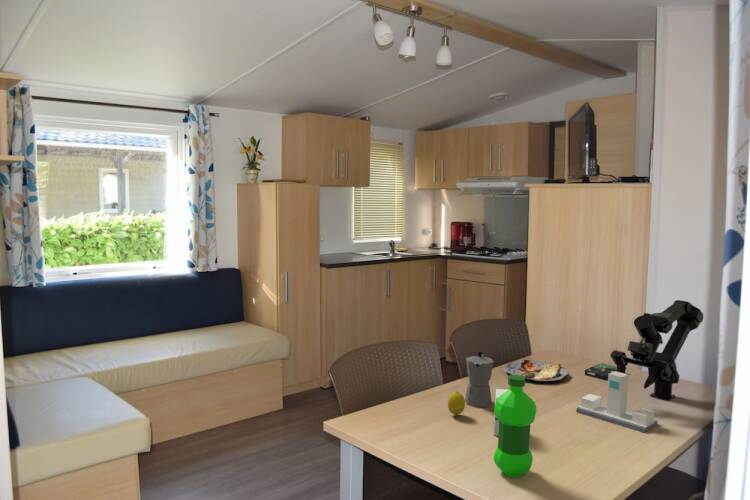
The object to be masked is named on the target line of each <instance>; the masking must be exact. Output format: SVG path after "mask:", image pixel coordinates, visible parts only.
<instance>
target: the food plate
mask: <svg viewBox="0 0 750 500" xmlns="http://www.w3.org/2000/svg"><path fill="white" fill-rule="evenodd" d="M503 370H504V372H505V373H507V374H510V375H520V376H523V377H525V380H530V381H535V382H540V383H541V382H542V383H547V382H550V381H559V380H562V379H563V378H565V377H566V376H567V375H568V374H569V371H568V370H567V369H566V368H564V367H562V365H561V363H550V362H546V361H538V360H531V359H523V360H521V361H520V360H519V361H512V362H510V363H508V364H507V365H506V366H504V367H503ZM517 372H519V373H518V374H517ZM532 377H533V378H532Z"/></svg>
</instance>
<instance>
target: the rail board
mask: <svg viewBox="0 0 750 500" xmlns="http://www.w3.org/2000/svg"><path fill="white" fill-rule="evenodd" d="M580 398H581V401H580V402H581V403H580V405H579V406H577V408H576V413H579V414H582V415H585V416H589V417H591V418H594V419H597V420H602V421H604V422H607V423H611V424H614V425H618V426H621V427H624V428H628V429H630V430H634V431H637V432H641V433H644V434H645V433H646V432H647V431H649V430H650V429H652V428H654V427H655V426H658V423H659V422H658V420H657V419H654V418H655V411H654V410H649V409H647V408H644V407H643V408H642V407H640V408H637V409H636V410H635V411H633V412H629V411H626V414H625V415H623V416H621V417H617V416H614V415H611V414H608V413H606V407H607V405H604V404H602V396H599V395H595V394H591V393H589V394H586V395H584V396H583V397H580Z"/></svg>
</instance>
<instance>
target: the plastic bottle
mask: <svg viewBox="0 0 750 500" xmlns="http://www.w3.org/2000/svg"><path fill="white" fill-rule="evenodd" d="M520 375H521V374H516V375H512V374H510V375H508V377H507V385H509V389H507V390H508V391H506V392H505V393H503V394H502V395H501V396H499V397H498V399H497V401H496V404H495V403H494V409H493V410H494V411H493V413H494V412H495V416H496V417H497V418H498V420H499V435H498V436H497V437H498V438H497V439H498V440H497V447H496V449H495V451H494V455H493V461H494V462H493V463H494V464H495V466H497V468H498V469H499V470H500V471H501V472H502V473H503V474H504V475H505V476H508V477H510V478H519V477H522V476H523V475H525V474H526V473H528V472H529V471H530V470H531V468H532V465H533V459H534V457H533V453H532V450H531V449H530V443H531V441H530V440H531V424H532V423H534V421H535V418H536V414H537V404H536V402H535V401H534V400H533V399H532V398H531V397H530V396H529V395H528V394H527V393H525V391H524V389H523V387H525V386H526V379H525V377H523V376H520ZM522 474H523V475H522ZM521 475H522V476H521Z"/></svg>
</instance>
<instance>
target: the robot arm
mask: <svg viewBox="0 0 750 500" xmlns="http://www.w3.org/2000/svg"><path fill="white" fill-rule="evenodd" d="M703 320H704V313H703V312H702V310H701V309H700V308H698V307H697V306H695V305H693V304H692V303H691V302H690V301H687V300H680V299H679V300H678V299H677V300H674V301H673V303H671V305H670V306H669V307H667V308H665V309H664V310H663V311H661V312H654V313H652V314H651V313H648V312H644V313H643V315H642V314H641V315H639V316H638V317H636V318H635V319H634V320H633V325H634V327H635V329H636V331H637V333H638V335H639V337H641V339H640V341H639V342H637V341H631V340H629V341H628V346H627V351H629V352H630V355H631V357H629V356H627V355H626V352H624V351H620V350H615V349H613V350H612V351H611V353H610V355H609V356H610V358H611V360H612V361H613V363H614V364H615V365H616V367H617V372H620V373H624V372H625V373H626V370H627V366H628V364H632V365H635V366H639V367H644V368H647V371H648V376H647V377H646V380H645V382H644V384H643V389H644V390H646V389H648V388H649V387H650V386H652V385H653V384H654V385H653V387H654V388H653V392H652V393H650V394H649V396H650V397H653V398H658V399H661V400H665V401H670V400H672V399H674V398H675V397H676V395H675V394H672V393H673V384H679V381H680V374H679V371H678V368H677V367H678V366H677V363H676V359H677V358H678V355H679V353H680V352H681V350H682V348H683V346H684V344H685V342H686V339H687V338H688V335H689V334H690V333H691V331H694V330H697V329H698V328H699V326H700V325H701V323H702V322H703ZM674 322H676V325H675V326H674V329H673V324H674ZM672 329H673V331H672V333H671V334H670V337H669V338H668V340H667V342H666V344H665V346H664V348H663V350H662V352H660V351H659V352H658V348H659V347H660V345H663V343H664V341H663V337H662V335H661V334H665V335H666V334H669V332H671V330H672Z"/></svg>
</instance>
